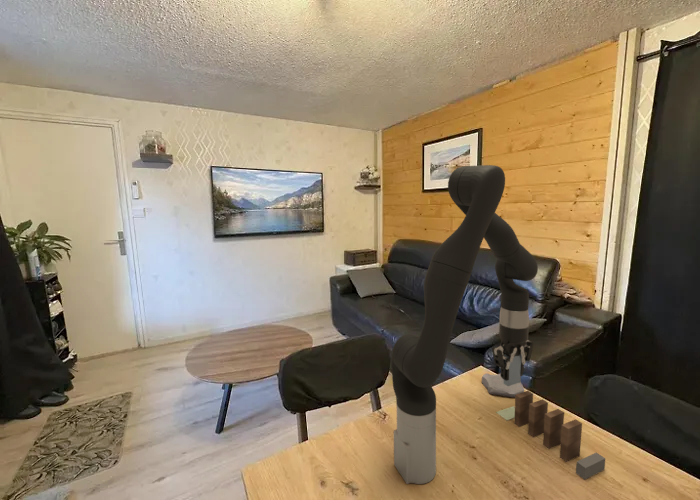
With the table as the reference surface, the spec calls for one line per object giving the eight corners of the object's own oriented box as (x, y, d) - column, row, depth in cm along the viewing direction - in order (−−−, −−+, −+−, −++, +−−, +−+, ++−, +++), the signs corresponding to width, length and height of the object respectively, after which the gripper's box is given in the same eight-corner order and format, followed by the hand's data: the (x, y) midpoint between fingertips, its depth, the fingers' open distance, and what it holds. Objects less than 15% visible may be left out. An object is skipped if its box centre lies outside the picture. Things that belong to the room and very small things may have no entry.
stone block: (527, 402, 103) (514, 380, 112) (529, 391, 101) (515, 369, 111) (490, 403, 104) (480, 381, 113) (491, 392, 102) (480, 370, 112)
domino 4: (548, 449, 81) (550, 417, 80) (542, 445, 83) (544, 413, 81) (562, 443, 83) (564, 412, 82) (556, 439, 84) (558, 408, 83)
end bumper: (584, 479, 72) (585, 468, 72) (575, 473, 74) (576, 461, 73) (604, 469, 74) (605, 458, 74) (595, 463, 76) (596, 452, 76)
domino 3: (533, 437, 85) (534, 407, 84) (527, 433, 87) (529, 403, 86) (546, 432, 87) (547, 402, 86) (540, 428, 89) (542, 399, 87)
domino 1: (507, 386, 92) (508, 357, 91) (503, 383, 94) (504, 355, 92) (520, 382, 94) (521, 354, 93) (515, 379, 95) (516, 351, 94)
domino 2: (518, 426, 90) (520, 397, 88) (514, 423, 91) (515, 394, 90) (531, 422, 91) (533, 393, 90) (526, 418, 93) (528, 390, 91)
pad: (506, 420, 92) (506, 420, 92) (496, 412, 96) (496, 412, 96) (524, 414, 95) (524, 413, 95) (513, 406, 98) (513, 406, 98)
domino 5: (565, 462, 77) (568, 428, 76) (559, 457, 78) (561, 424, 77) (579, 455, 79) (582, 423, 77) (573, 451, 80) (575, 419, 79)
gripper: (505, 331, 85) (503, 389, 88) (543, 322, 90) (540, 377, 93) (484, 322, 92) (483, 376, 95) (521, 314, 97) (519, 366, 100)
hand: (512, 376), depth 94 cm, fingers closed on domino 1, 5 cm apart
